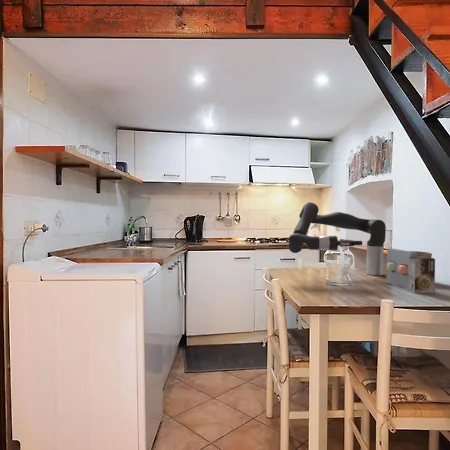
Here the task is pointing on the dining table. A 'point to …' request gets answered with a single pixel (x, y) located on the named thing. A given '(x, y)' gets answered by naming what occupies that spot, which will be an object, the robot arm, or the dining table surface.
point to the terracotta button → (402, 269)
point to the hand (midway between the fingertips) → (361, 243)
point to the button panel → (400, 259)
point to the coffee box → (422, 274)
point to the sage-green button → (390, 266)
